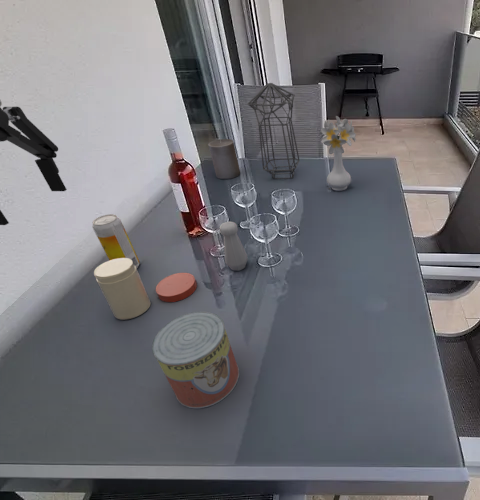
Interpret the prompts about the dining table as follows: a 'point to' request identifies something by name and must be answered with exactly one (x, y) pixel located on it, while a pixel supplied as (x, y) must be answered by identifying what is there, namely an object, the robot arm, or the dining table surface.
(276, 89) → the geometric lantern
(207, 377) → the canned food
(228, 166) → the pillar candle
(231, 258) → the salt shaker
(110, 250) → the beer can
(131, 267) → the jam jar
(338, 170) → the flower vase
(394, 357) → the dining table surface
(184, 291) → the lid
